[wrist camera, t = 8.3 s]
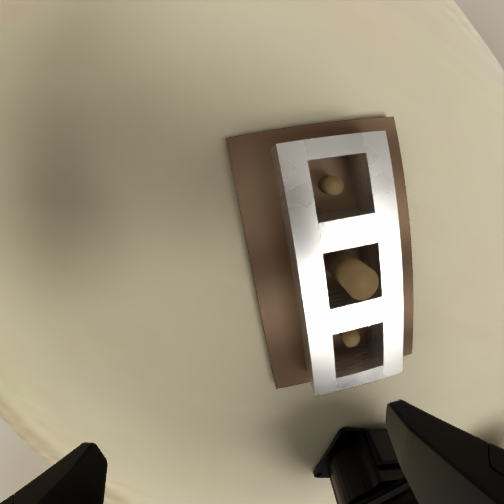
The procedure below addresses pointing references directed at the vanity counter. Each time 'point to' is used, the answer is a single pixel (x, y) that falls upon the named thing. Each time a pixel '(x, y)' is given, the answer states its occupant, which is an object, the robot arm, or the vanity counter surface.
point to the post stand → (335, 263)
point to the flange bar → (338, 238)
